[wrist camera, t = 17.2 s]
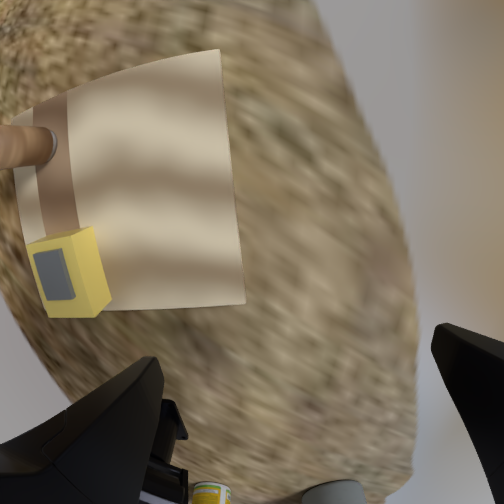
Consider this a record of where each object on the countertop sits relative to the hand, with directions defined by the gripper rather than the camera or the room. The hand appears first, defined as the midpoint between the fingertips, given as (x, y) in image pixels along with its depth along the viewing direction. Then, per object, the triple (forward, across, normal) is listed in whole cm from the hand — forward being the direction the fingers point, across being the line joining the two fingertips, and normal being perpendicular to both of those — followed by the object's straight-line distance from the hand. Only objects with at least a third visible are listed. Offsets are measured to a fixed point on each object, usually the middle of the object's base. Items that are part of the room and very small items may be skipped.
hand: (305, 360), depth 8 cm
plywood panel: (+13, +12, -5) cm, 18 cm away
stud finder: (+12, +16, 0) cm, 20 cm away
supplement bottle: (+13, +11, +36) cm, 40 cm away
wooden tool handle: (+12, +17, -10) cm, 23 cm away
